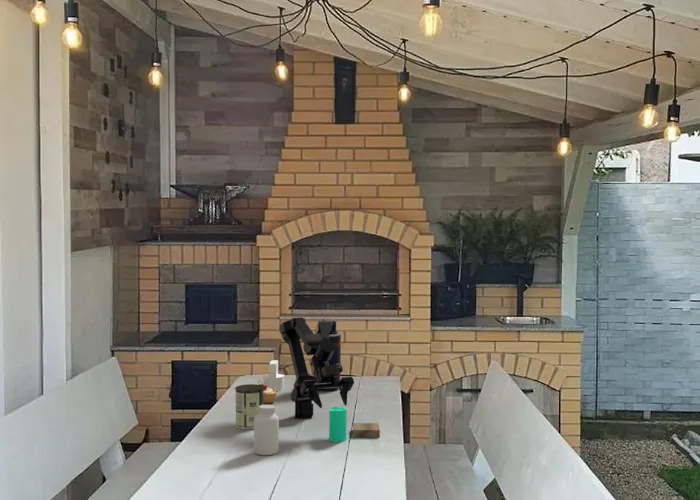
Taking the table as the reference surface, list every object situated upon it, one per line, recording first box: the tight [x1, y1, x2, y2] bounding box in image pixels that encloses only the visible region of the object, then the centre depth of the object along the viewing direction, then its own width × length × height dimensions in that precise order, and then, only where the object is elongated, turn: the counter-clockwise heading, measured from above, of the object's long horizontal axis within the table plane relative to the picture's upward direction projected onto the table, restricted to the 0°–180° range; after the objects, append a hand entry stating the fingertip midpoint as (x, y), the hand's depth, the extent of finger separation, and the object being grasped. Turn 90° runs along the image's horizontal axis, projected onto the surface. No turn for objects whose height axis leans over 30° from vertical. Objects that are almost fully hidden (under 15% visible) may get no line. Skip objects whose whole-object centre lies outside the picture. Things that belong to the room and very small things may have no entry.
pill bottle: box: [253, 404, 280, 456], centre depth 258 cm, size 8×8×15 cm
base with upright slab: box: [262, 359, 285, 392], centre depth 349 cm, size 9×9×12 cm
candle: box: [328, 406, 347, 443], centre depth 274 cm, size 6×6×12 cm
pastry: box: [257, 379, 277, 405], centre depth 325 cm, size 12×12×9 cm
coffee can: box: [234, 383, 264, 430], centre depth 290 cm, size 10×10×14 cm
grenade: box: [312, 320, 342, 392], centre depth 350 cm, size 14×12×30 cm
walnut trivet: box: [352, 422, 381, 438], centre depth 281 cm, size 9×9×2 cm
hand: (333, 406), depth 277 cm, fingers open, 9 cm apart
